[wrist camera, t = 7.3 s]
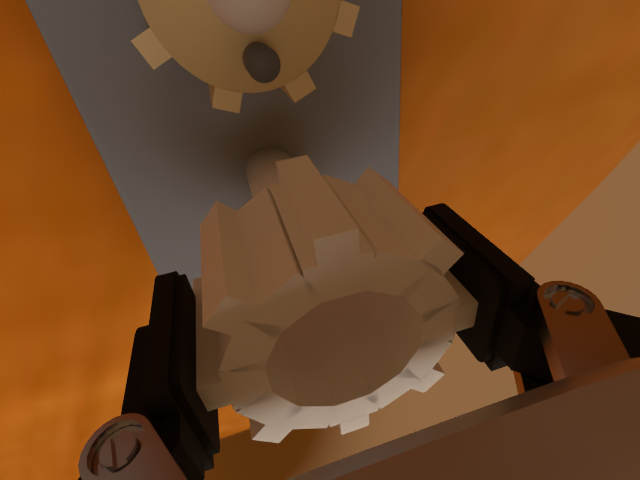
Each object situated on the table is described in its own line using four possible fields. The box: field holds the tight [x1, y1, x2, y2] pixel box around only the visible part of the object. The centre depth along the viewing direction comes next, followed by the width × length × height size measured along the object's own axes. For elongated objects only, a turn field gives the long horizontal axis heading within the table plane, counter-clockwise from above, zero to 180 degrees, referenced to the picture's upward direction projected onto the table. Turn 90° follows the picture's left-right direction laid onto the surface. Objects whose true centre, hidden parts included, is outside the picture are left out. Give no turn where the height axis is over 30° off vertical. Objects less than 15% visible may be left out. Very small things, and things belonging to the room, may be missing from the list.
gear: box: [193, 155, 478, 443], centre depth 11 cm, size 7×7×4 cm
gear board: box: [25, 0, 402, 290], centre depth 14 cm, size 22×14×8 cm, turn 7°
